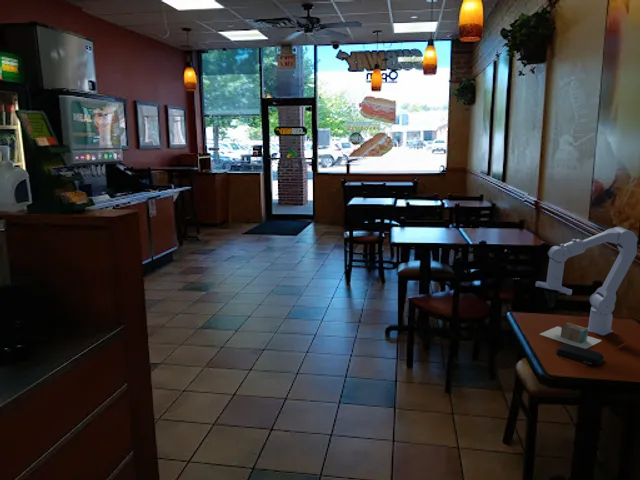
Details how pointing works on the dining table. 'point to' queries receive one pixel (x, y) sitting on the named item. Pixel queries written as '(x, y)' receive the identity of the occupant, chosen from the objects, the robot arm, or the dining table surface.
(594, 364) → the carrying case or bag
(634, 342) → the dining table surface
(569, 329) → the teal and wood block
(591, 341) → the mat
